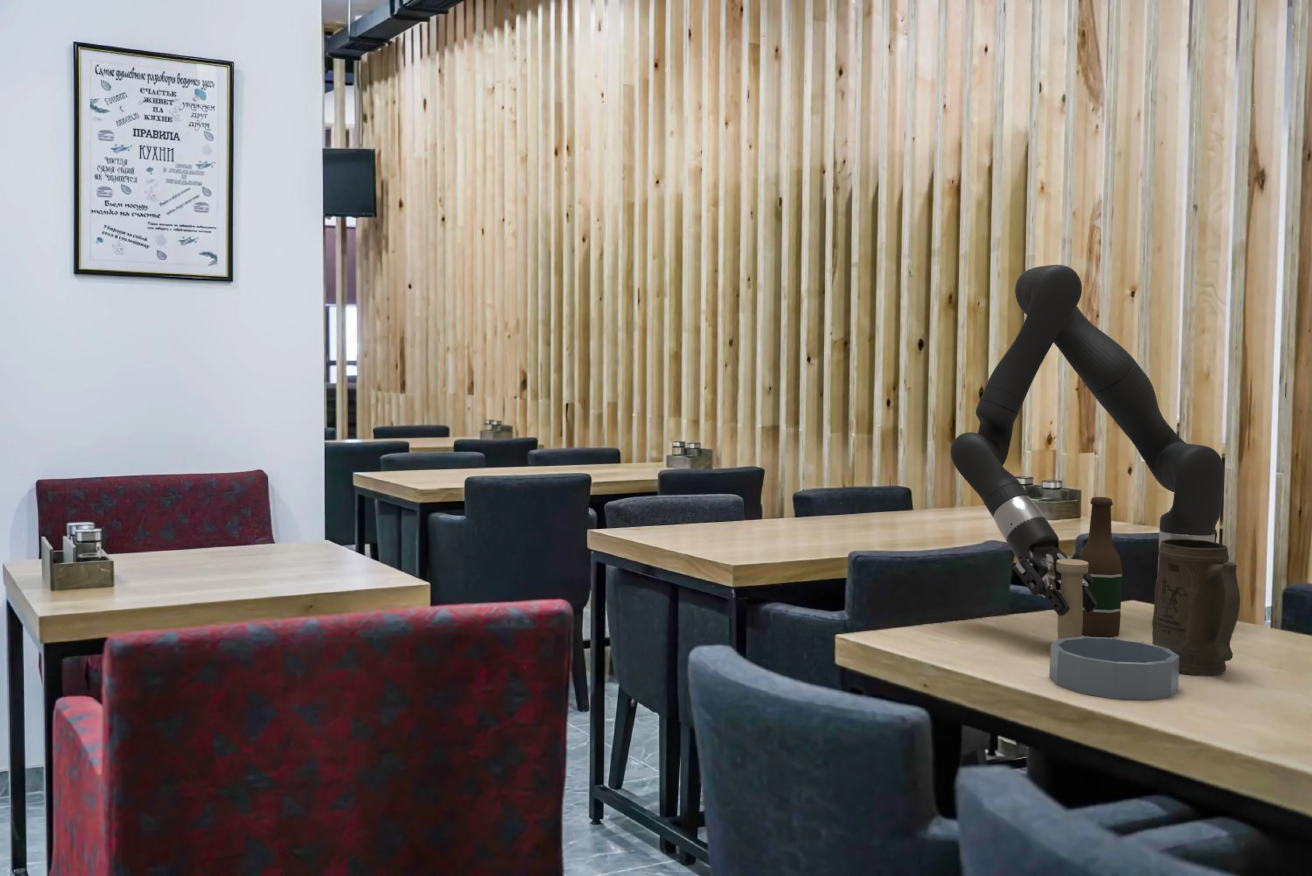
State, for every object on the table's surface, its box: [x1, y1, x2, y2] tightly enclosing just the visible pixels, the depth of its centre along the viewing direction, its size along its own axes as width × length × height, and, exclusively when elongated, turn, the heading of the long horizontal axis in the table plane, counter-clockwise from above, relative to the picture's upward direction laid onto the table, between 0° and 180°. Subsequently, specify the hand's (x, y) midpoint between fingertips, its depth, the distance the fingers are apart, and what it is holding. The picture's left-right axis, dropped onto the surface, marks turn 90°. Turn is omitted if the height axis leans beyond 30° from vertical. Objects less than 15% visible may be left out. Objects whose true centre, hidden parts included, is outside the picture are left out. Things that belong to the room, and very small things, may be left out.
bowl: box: [1049, 636, 1180, 701], centre depth 174 cm, size 17×17×5 cm
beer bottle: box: [1078, 496, 1123, 638], centre depth 208 cm, size 8×8×24 cm
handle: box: [1056, 559, 1088, 640], centre depth 193 cm, size 5×6×15 cm
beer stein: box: [1151, 539, 1241, 676], centre depth 183 cm, size 15×11×20 cm
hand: (1079, 611), depth 191 cm, fingers open, 6 cm apart
